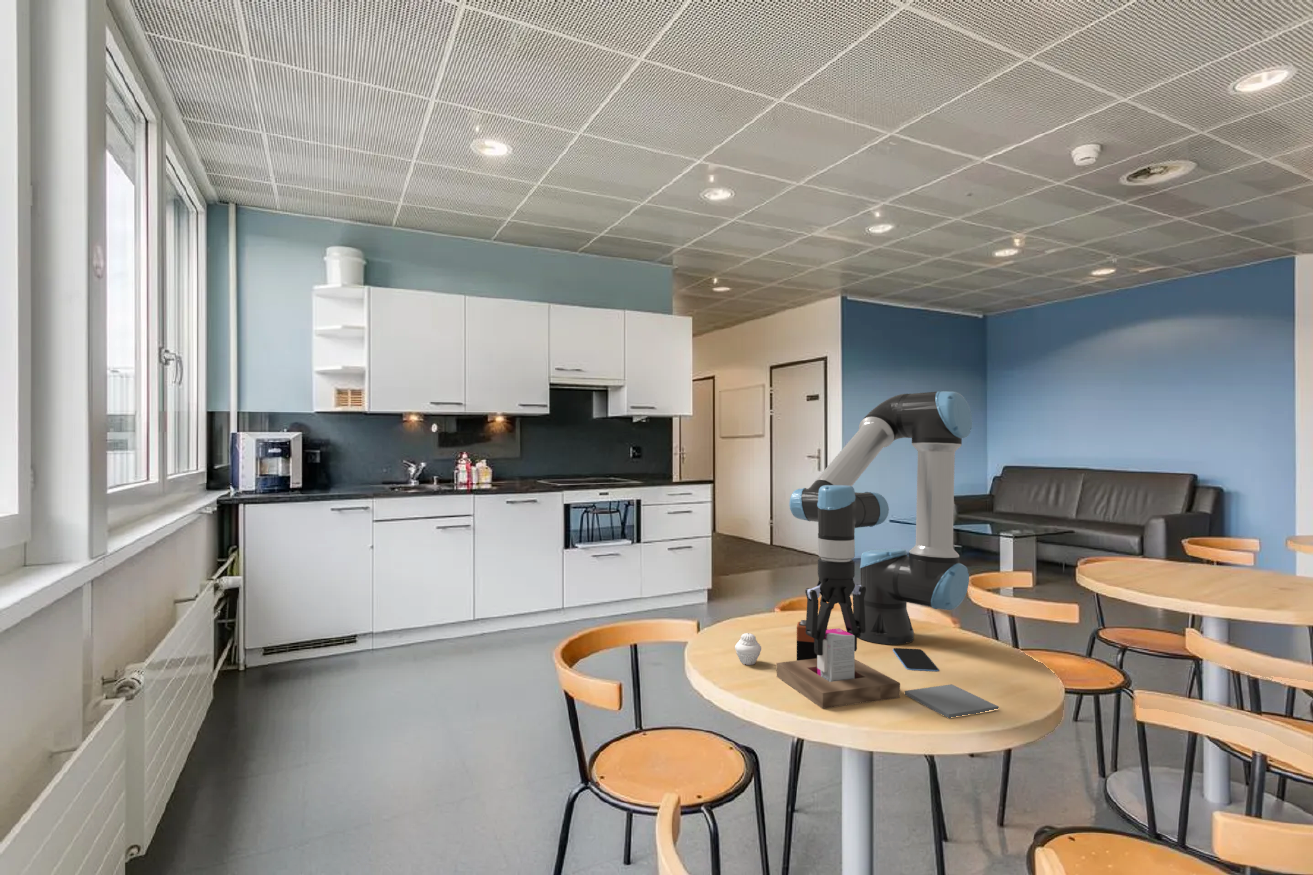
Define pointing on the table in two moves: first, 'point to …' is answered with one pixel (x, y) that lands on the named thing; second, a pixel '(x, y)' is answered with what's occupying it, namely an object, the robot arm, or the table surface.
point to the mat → (950, 700)
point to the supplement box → (839, 656)
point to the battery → (804, 643)
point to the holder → (837, 684)
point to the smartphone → (915, 659)
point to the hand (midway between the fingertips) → (835, 668)
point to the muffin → (748, 649)
